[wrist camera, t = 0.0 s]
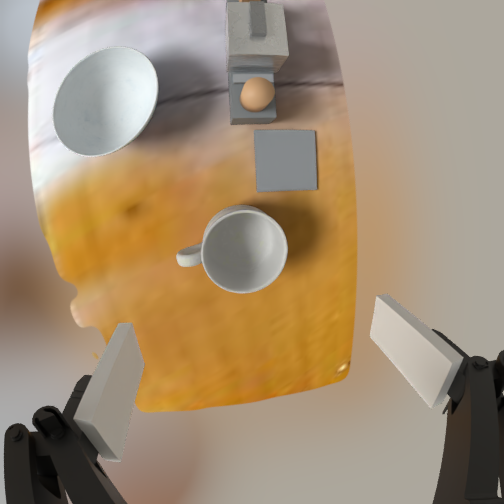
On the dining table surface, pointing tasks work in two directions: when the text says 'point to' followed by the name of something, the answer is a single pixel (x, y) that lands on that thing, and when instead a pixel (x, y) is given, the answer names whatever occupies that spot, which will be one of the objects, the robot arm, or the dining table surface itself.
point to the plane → (251, 94)
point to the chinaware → (105, 101)
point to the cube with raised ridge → (255, 37)
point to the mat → (285, 160)
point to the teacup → (239, 249)
